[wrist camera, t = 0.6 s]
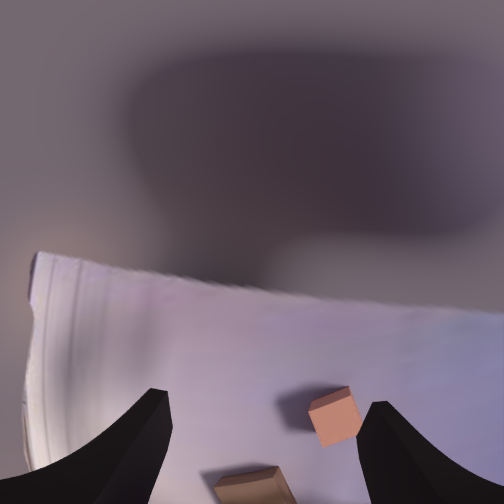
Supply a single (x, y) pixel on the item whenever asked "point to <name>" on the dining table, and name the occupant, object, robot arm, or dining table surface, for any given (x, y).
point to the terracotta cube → (335, 417)
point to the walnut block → (255, 488)
